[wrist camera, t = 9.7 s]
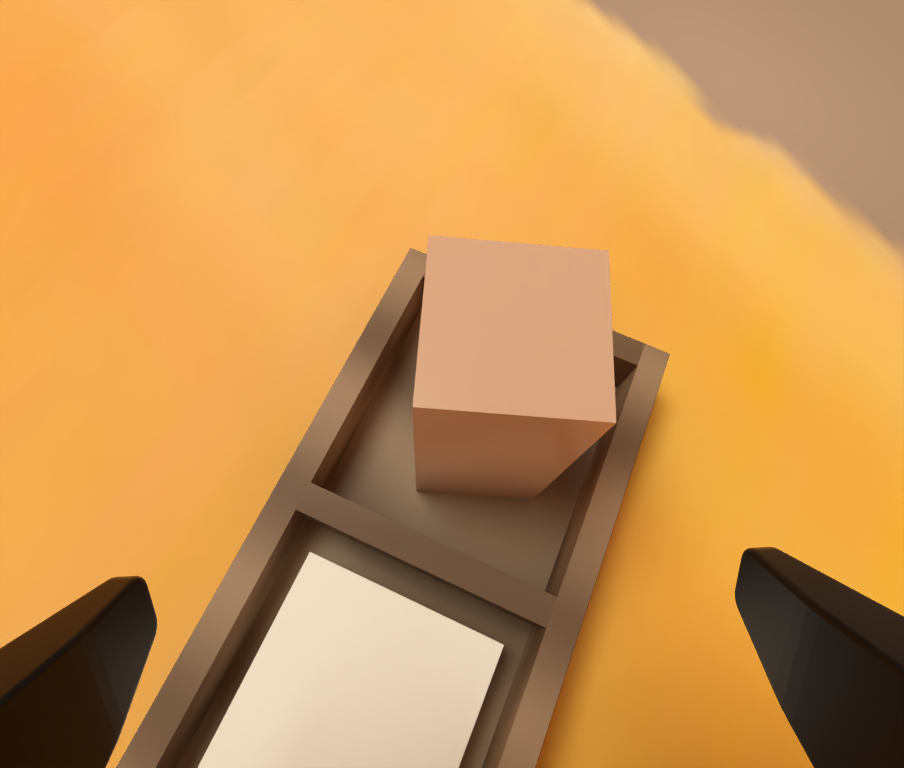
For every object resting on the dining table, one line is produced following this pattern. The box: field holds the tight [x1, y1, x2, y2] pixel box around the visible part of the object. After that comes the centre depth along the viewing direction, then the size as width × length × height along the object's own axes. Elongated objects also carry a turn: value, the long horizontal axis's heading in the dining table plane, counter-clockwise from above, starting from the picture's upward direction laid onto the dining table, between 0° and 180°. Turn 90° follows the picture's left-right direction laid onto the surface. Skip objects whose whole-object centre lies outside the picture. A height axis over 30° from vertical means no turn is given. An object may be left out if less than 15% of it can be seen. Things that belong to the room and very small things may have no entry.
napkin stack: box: [198, 552, 504, 768], centre depth 18 cm, size 7×7×2 cm
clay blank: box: [412, 235, 616, 500], centre depth 18 cm, size 4×4×10 cm
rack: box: [116, 248, 670, 768], centre depth 20 cm, size 21×11×3 cm, turn 156°
